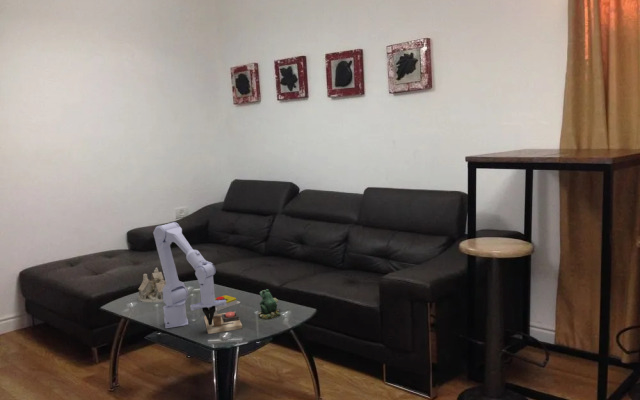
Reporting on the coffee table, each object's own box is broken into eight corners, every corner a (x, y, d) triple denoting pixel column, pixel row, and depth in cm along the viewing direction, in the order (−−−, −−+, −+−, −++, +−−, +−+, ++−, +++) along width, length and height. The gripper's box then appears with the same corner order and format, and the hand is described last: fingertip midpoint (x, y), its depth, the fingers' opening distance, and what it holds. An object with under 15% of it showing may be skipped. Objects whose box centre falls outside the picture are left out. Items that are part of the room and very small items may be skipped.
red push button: (226, 320, 232) (225, 315, 232) (225, 317, 236) (224, 312, 236) (235, 318, 234) (235, 314, 233) (234, 315, 237) (233, 311, 237)
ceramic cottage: (136, 297, 278) (134, 269, 275) (168, 292, 285) (167, 264, 283) (142, 307, 264) (140, 278, 261) (176, 302, 272) (174, 273, 269)
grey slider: (210, 318, 236) (210, 310, 235) (210, 316, 239) (209, 308, 238) (217, 317, 237) (217, 309, 236) (216, 315, 240) (216, 307, 239)
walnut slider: (214, 326, 226) (213, 318, 226) (213, 324, 229) (212, 316, 228) (221, 325, 227) (220, 317, 226) (220, 323, 230) (219, 315, 229)
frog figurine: (274, 305, 255) (272, 281, 253) (298, 314, 241) (296, 288, 239) (242, 315, 243) (240, 290, 241) (265, 325, 230) (263, 299, 228)
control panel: (208, 334, 223) (207, 327, 223) (204, 319, 240) (203, 313, 240) (242, 328, 227) (241, 321, 227) (235, 314, 244) (235, 308, 244)
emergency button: (203, 299, 256) (228, 291, 266) (203, 308, 256) (229, 300, 267) (215, 303, 249) (240, 294, 260) (215, 312, 250) (241, 303, 261)
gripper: (190, 298, 219) (193, 330, 221) (226, 292, 223) (229, 324, 225) (188, 293, 226) (192, 324, 228) (224, 288, 230) (226, 318, 232)
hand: (210, 324), depth 227 cm, fingers closed
